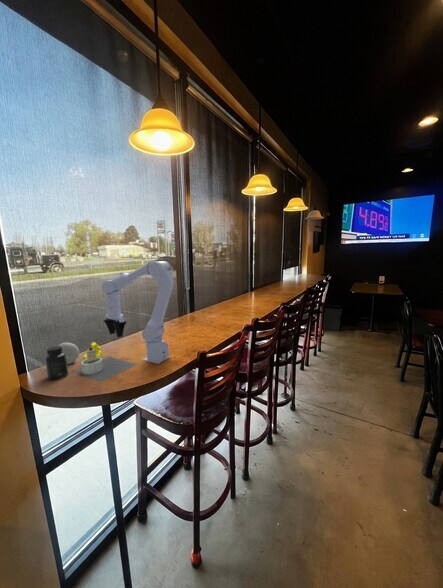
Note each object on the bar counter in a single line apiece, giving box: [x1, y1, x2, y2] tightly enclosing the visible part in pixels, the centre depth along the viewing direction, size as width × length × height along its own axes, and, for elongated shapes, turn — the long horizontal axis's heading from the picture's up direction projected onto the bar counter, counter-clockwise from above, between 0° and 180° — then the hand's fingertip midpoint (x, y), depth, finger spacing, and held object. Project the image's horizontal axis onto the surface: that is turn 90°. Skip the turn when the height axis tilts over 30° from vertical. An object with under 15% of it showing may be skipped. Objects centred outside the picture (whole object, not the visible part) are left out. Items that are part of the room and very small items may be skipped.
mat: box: [71, 356, 138, 382], centre depth 104 cm, size 19×17×1 cm
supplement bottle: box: [44, 345, 69, 381], centre depth 97 cm, size 7×7×12 cm
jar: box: [80, 356, 103, 375], centre depth 101 cm, size 8×8×4 cm
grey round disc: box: [57, 341, 80, 365], centre depth 109 cm, size 10×4×10 cm, turn 106°
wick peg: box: [86, 347, 96, 364], centre depth 101 cm, size 3×3×9 cm
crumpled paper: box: [83, 341, 103, 360], centre depth 115 cm, size 6×8×8 cm
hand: (116, 335), depth 115 cm, fingers open, 7 cm apart
